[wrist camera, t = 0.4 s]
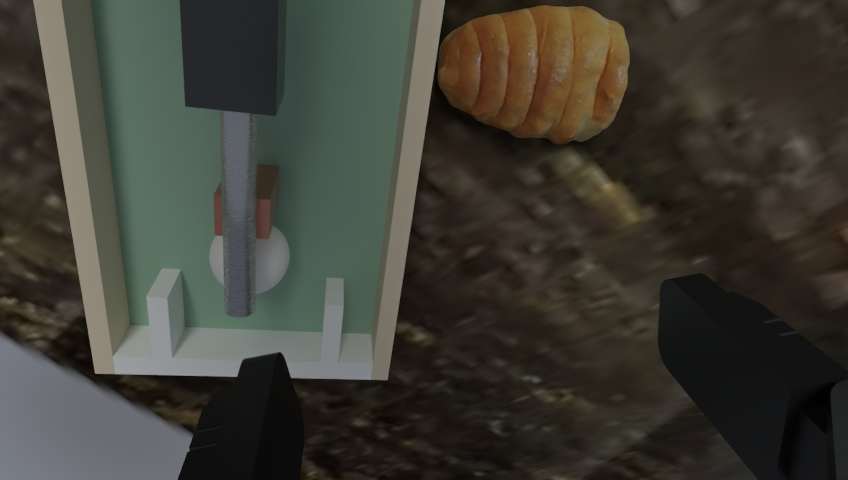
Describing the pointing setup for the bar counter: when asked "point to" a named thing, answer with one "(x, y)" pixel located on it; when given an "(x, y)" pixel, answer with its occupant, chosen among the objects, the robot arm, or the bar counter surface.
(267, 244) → the ball
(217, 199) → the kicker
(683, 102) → the bar counter surface
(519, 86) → the pastry
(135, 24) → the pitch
